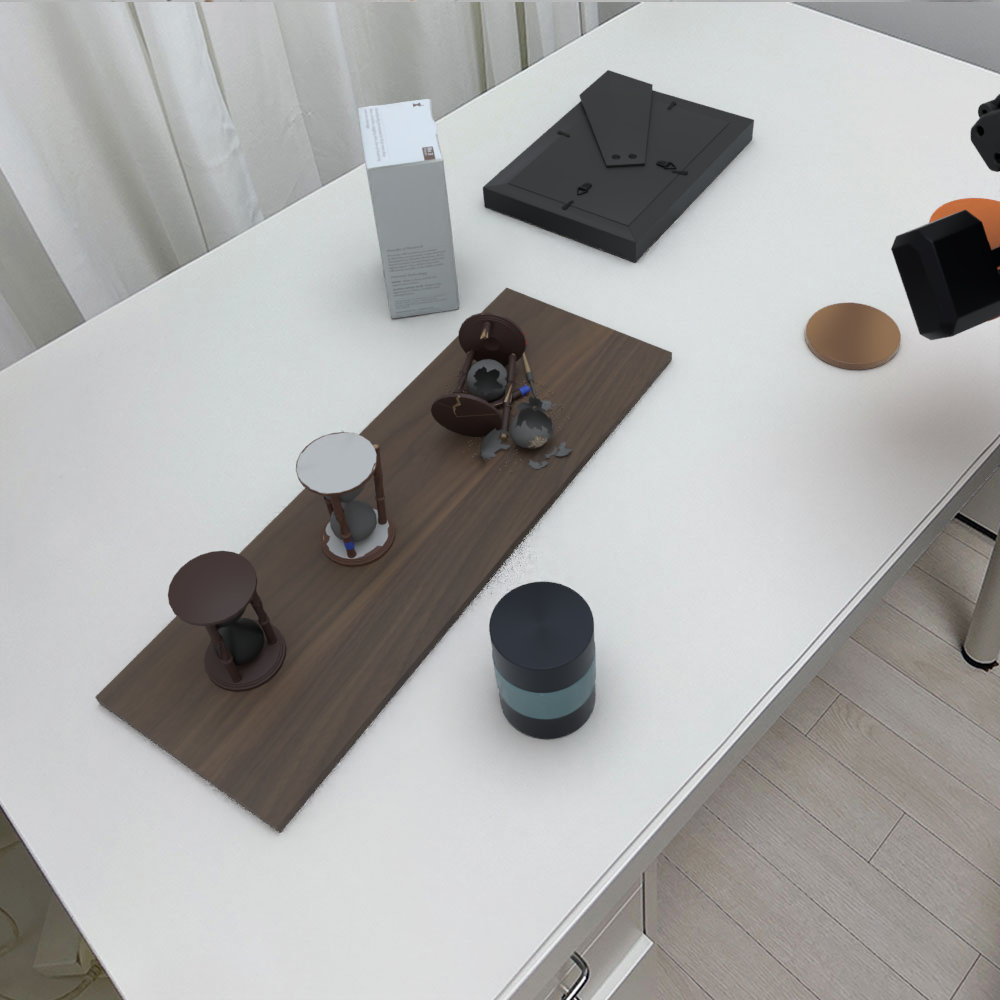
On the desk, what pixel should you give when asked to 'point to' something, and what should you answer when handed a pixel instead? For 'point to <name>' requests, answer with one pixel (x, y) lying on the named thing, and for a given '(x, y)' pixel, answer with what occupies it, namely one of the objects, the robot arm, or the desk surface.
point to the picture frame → (619, 166)
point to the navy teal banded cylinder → (544, 659)
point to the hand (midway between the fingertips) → (954, 260)
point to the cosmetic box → (410, 206)
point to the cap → (992, 213)
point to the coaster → (852, 336)
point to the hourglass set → (376, 553)
